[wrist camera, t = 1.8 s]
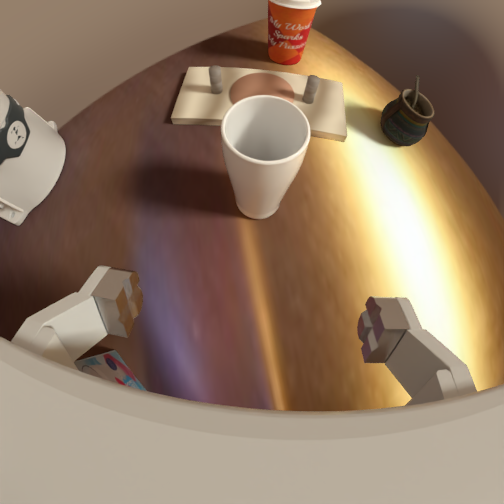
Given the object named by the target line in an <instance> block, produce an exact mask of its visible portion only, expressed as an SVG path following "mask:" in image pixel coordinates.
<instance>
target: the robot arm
mask: <svg viewBox="0 0 504 504" xmlns="http://www.w3.org/2000/svg"><path fill="white" fill-rule="evenodd" d="M65 153H66V149H65V143H64V141H63V139H62V137H61V136H60V135H59V134H58V133H57V125H56V124H55V122H53V121H49V122H46V121H44V120H43V119H42V118H41V117H40V116H38V114H36V113H35V112H34V111H33V110H32V109H30V108H29V107H26V108H22V107H21V106H20V105H19V103H18V102H17V101H16V100H15V99H13V98H12V97H11V96H10V95H5V94H4V93H3V92H2V91H1V90H0V217H1V218H3V219H5V220H7V221H8V222H10V223H12V224H14V225H16V226H19V225H20V224H21V223H22V222H23V221H24V219H25V218H26V216H27V215H28V213H29V212H30V211H31V210H32V209H33V208H34V207H36V206H37V205H38V204H39V203H41V202H42V201H43V200H44V198H45V197H46V196H47V195H48V194H49V192H50V191H51V190H52V188H53V187H54V185H55V183H56V181H57V179H58V178H59V175H60V173H61V171H62V168H63V164H64V160H65ZM138 282H139V277H138V273H137V272H135V271H131V270H125V269H119V268H114V267H107V266H98V267H97V268H96V269H95V271H94V272H93V273H92V275H91V276H90V277H89V279H88V280H87V281H86V283H85V284H84V285H83V287H82V288H81V290H80V291H79V292H78V293H76V292H74V293H73V294H71V295H69V296H67V297H65V298H63V299H61V300H59V301H58V302H56V303H54V304H52V305H50V306H48V307H46V308H45V309H43V310H41V311H39V312H37V313H36V314H34V315H32V316H30V317H28V318H27V319H26V320H25V322H24V323H23V325H22V326H21V327H20V329H19V330H18V332H17V333H16V335H15V336H14V338H13V339H12V341H11V342H10V341H8V340H6V339H4V338H2V337H0V504H504V384H502V385H499V386H496V387H492V388H489V389H485V390H482V391H478V392H477V390H476V388H475V385H474V382H473V380H472V377H471V375H470V372H469V370H468V367H467V365H466V364H465V363H463V362H462V361H461V360H460V359H459V358H458V357H457V356H456V355H454V354H453V353H452V352H451V351H450V350H449V349H448V348H446V347H445V346H444V345H443V344H442V343H441V342H440V341H438V340H437V339H436V338H435V337H434V336H433V335H431V334H430V333H429V332H428V331H427V330H422V327H421V325H420V323H419V320H418V318H417V316H416V314H415V312H414V309H413V307H412V305H411V303H410V301H409V299H407V298H398V297H395V298H392V297H374V296H370V297H369V299H368V300H367V302H366V304H365V305H366V308H367V310H366V311H364V312H363V313H361V316H360V318H359V321H358V327H357V328H358V336H359V339H360V340H361V341H362V342H363V343H364V344H363V346H362V348H361V350H362V354H363V358H364V363H385V365H386V366H387V367H388V369H389V370H390V371H391V372H392V374H393V375H394V376H395V377H396V379H397V380H398V381H399V382H400V384H401V385H402V386H403V387H404V389H405V390H406V391H407V392H408V394H409V395H410V396H411V398H412V399H411V400H410V401H409V402H408V403H407V404H406V405H405V406H400V407H391V408H381V409H369V410H354V411H280V410H264V409H252V408H242V407H233V406H224V405H217V404H210V403H203V402H197V401H191V400H186V399H180V398H175V397H170V396H166V395H161V394H156V393H152V392H148V391H144V390H140V389H136V388H132V387H128V386H125V385H121V384H118V383H114V382H111V381H108V380H104V379H101V378H98V377H95V376H92V375H89V374H86V373H83V372H80V371H79V370H78V368H77V367H76V365H75V364H74V361H75V360H76V359H78V358H79V357H80V356H81V355H83V354H84V353H85V352H86V351H88V350H89V349H90V348H91V347H93V346H94V345H95V344H96V343H98V342H99V341H100V340H101V339H103V338H104V337H105V336H106V335H107V333H108V334H113V335H118V336H123V337H128V336H129V334H130V332H131V330H132V328H133V326H134V322H133V318H135V317H136V316H138V315H139V313H140V311H141V308H142V302H143V295H142V290H141V289H140V288H139V287H138V286H137V284H138Z"/></svg>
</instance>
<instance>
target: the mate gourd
mask: <svg viewBox="0 0 504 504" xmlns="http://www.w3.org/2000/svg"><path fill="white" fill-rule="evenodd" d="M418 86H419V76H417V75H416V83H415V90H412V89H404V90H403V91H402V92H401V94H400V95H399V98H397V99H396V100H394V101H391V102H390V103H389V104H387V105H386V106H385V108H384V110H383V112H382V117H381V127H382V131H383V132H384V133H385V135H386V136H387V137H388V138H389V139H390V140H391V141H393V142H394V143H396V144H398V145H401V146H411V145H413V144H415V143H417V142H418V141H420V140H421V139H422V137H424V136H425V134H426V132H427V128H428V124H429V121H430V120H431V119H432V118H433V117H434V109H433V107H432V105H431V103H430V102H429V101H428V99H427V98H426V97H425V96H423V95H422V94H420V93H419V92H418Z"/></svg>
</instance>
